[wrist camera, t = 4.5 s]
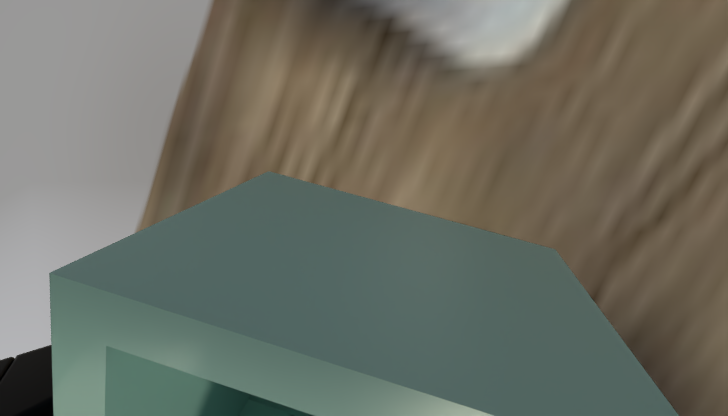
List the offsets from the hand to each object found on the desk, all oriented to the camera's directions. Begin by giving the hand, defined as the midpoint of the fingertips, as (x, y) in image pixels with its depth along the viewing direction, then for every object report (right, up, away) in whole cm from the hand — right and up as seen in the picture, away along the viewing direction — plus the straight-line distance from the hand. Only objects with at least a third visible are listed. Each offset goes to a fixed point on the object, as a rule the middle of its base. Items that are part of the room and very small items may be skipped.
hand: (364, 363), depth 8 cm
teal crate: (0, 0, +1) cm, 1 cm away
